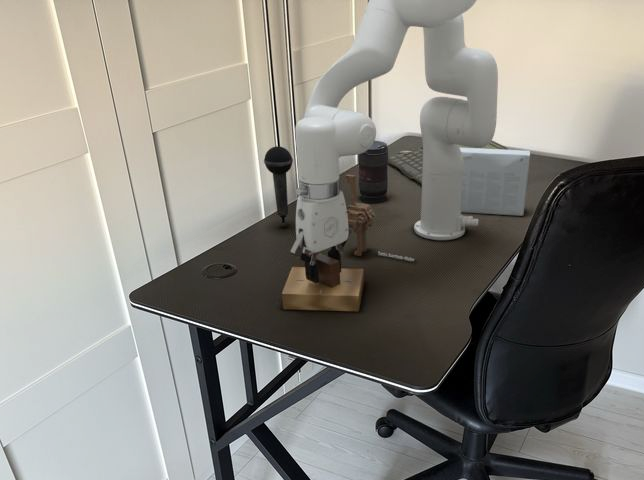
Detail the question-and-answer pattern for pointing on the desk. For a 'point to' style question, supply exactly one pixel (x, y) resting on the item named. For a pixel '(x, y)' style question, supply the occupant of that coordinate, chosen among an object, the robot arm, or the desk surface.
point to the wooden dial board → (323, 292)
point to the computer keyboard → (414, 160)
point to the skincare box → (494, 181)
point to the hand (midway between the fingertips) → (323, 275)
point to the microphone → (279, 177)
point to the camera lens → (373, 172)
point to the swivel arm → (328, 270)
